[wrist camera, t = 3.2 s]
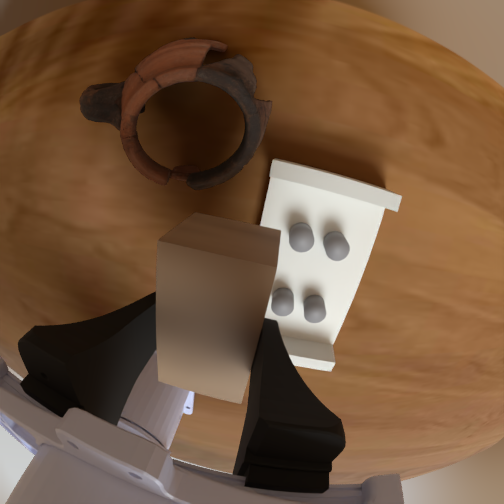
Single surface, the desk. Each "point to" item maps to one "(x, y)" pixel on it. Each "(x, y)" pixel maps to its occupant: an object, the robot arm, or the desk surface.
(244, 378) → the tan rectangular block
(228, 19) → the desk surface
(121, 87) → the pottery mug
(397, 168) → the desk surface
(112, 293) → the desk surface
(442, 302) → the desk surface
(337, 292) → the peg stand
